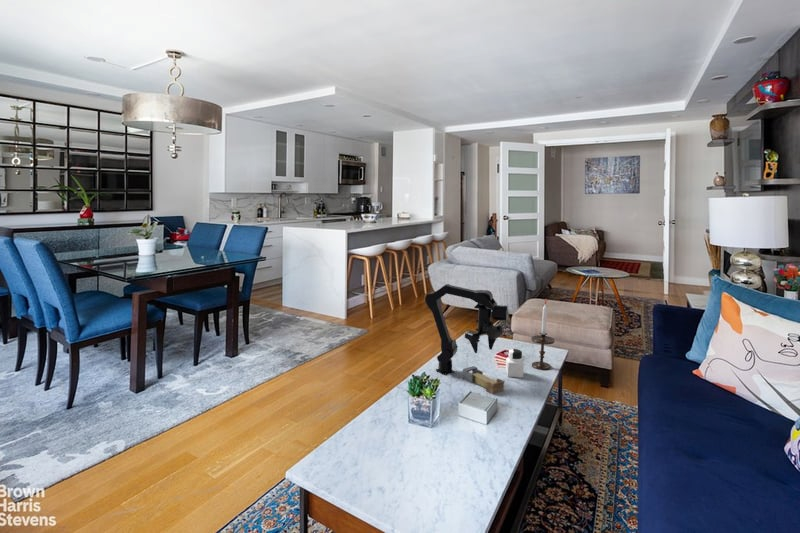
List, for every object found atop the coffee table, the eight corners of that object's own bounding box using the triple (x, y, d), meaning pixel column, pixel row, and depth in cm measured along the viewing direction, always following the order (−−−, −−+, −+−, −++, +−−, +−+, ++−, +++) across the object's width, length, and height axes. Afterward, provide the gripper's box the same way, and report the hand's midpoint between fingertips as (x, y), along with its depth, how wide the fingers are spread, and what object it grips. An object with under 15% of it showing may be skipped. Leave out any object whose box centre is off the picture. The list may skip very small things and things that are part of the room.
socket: (486, 391, 189) (486, 381, 189) (497, 387, 193) (498, 378, 192) (491, 394, 186) (492, 384, 186) (503, 390, 190) (504, 381, 190)
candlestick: (555, 371, 213) (560, 300, 207) (533, 370, 213) (537, 300, 208) (548, 362, 223) (553, 295, 218) (527, 362, 224) (531, 295, 218)
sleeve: (462, 378, 202) (463, 368, 202) (473, 375, 206) (473, 365, 205) (471, 383, 197) (471, 373, 197) (482, 380, 201) (482, 370, 200)
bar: (471, 380, 199) (471, 374, 199) (477, 378, 201) (478, 372, 201) (491, 391, 188) (492, 384, 188) (498, 389, 191) (498, 382, 190)
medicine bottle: (520, 371, 211) (521, 348, 209) (523, 377, 204) (524, 353, 202) (505, 371, 212) (506, 347, 210) (507, 377, 205) (508, 352, 203)
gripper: (481, 325, 187) (480, 360, 190) (512, 319, 197) (510, 352, 200) (464, 319, 197) (463, 352, 199) (494, 314, 207) (493, 345, 209)
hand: (483, 351), depth 201 cm, fingers open, 9 cm apart
